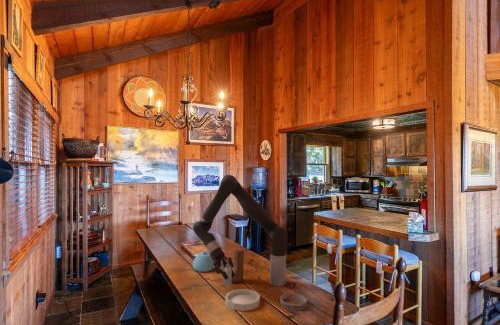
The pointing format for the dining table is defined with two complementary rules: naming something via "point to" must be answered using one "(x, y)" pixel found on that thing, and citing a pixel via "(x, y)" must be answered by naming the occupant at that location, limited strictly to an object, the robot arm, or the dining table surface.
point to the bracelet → (292, 306)
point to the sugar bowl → (203, 262)
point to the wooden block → (238, 265)
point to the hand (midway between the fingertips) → (230, 277)
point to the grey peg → (229, 273)
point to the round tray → (242, 299)
